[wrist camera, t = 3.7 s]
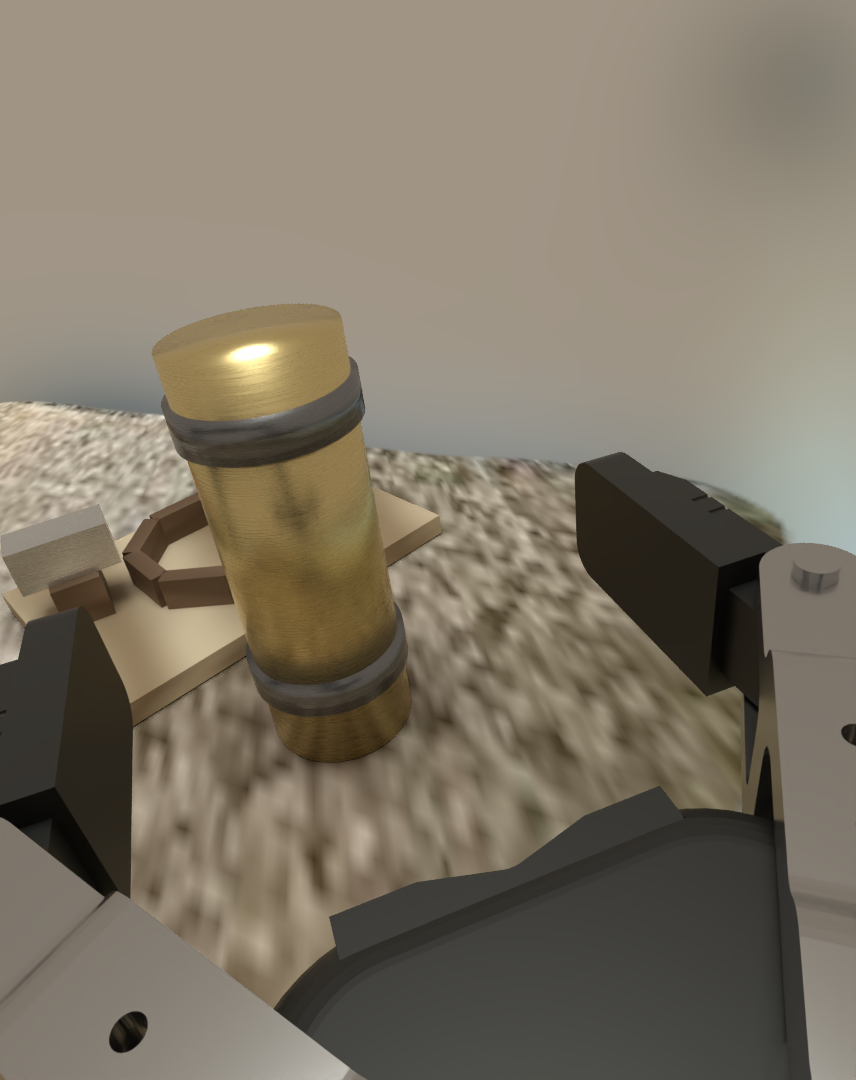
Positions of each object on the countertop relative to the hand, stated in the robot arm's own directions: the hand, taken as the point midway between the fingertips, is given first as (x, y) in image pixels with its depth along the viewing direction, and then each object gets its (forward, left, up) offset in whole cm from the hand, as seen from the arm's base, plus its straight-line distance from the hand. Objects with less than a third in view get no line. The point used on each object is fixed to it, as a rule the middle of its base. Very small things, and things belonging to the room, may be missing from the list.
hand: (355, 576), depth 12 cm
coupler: (+4, +9, -13) cm, 16 cm away
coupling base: (+6, +21, -13) cm, 25 cm away
